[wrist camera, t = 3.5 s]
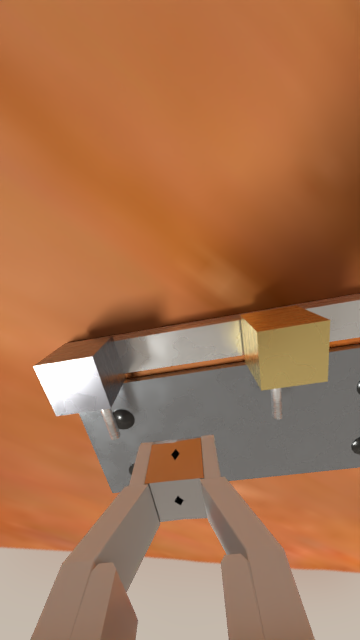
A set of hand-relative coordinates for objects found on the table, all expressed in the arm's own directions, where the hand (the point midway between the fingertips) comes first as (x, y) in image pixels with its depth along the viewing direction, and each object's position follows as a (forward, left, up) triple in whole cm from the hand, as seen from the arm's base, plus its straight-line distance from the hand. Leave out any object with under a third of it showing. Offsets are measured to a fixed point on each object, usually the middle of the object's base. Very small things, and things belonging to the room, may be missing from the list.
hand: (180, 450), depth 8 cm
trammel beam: (+2, +7, -10) cm, 12 cm away
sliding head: (+2, +7, -8) cm, 11 cm away
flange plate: (+9, +7, -10) cm, 15 cm away
